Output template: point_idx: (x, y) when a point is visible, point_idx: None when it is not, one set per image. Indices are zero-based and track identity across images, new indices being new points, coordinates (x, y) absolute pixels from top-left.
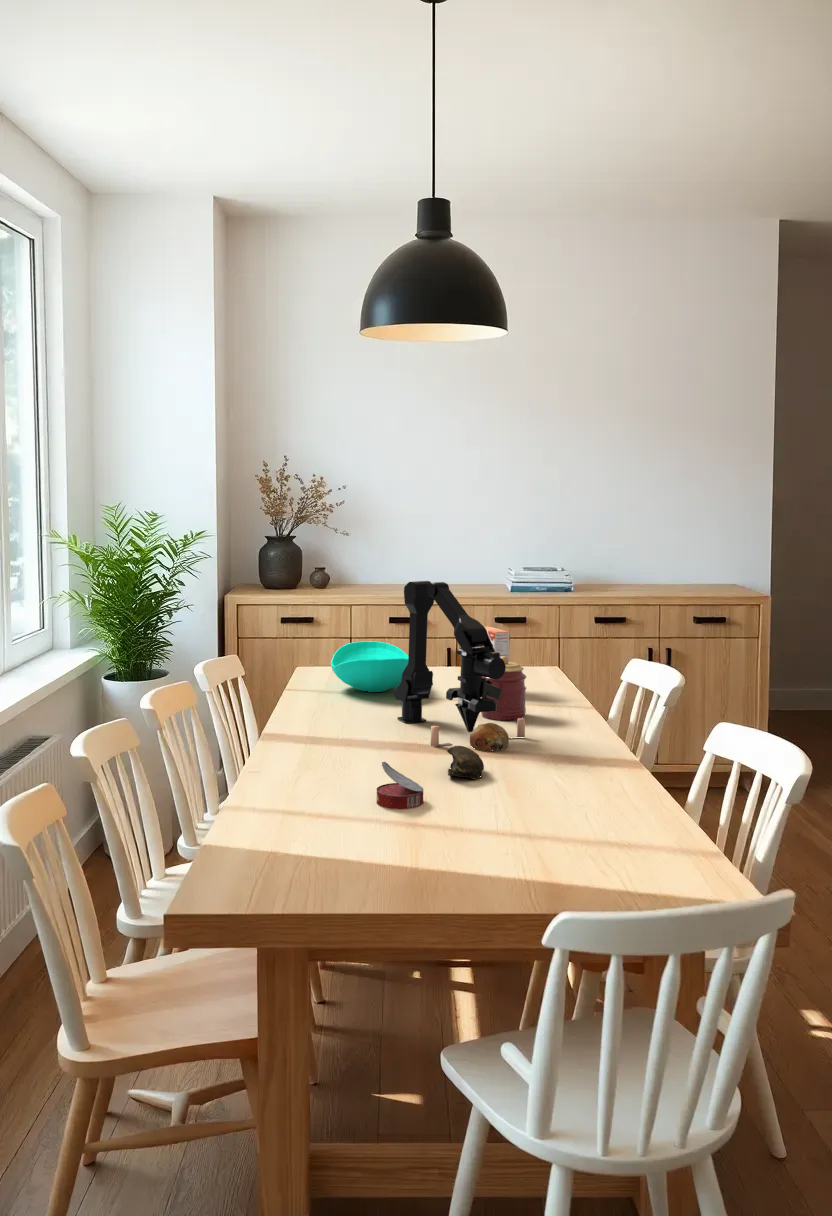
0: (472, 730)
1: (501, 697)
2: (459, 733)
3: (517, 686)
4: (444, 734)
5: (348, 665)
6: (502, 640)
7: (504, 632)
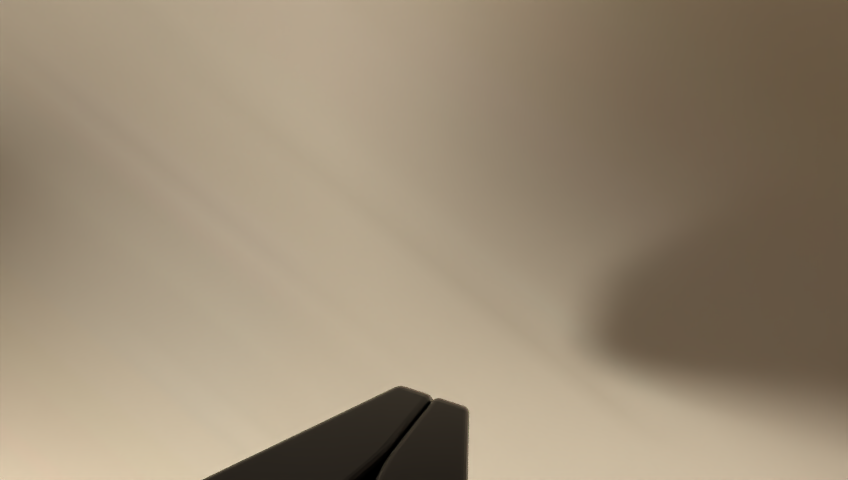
0: (464, 429)
1: None
2: (122, 252)
3: None
4: (122, 452)
5: None
6: None
7: None
